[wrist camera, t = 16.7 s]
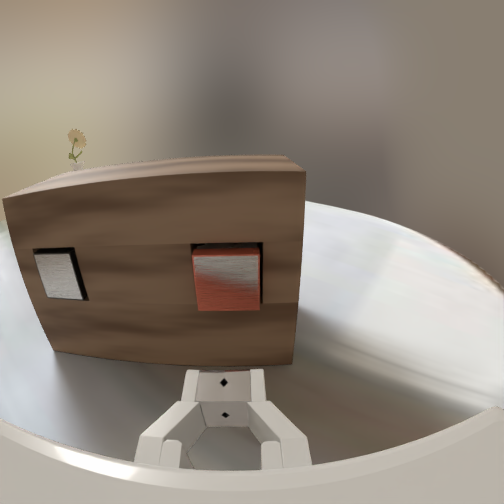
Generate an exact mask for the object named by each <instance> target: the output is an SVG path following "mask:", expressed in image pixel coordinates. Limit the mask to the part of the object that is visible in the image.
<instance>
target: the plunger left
mask: <svg viewBox="0 0 504 504" xmlns="http://www.w3.org/2000/svg"><path fill="white" fill-rule="evenodd" d="M33 256H34V259H35V263H36V266H37V269H38V272H39V275H40V278H41V281H42V284H43V287H44V290H45V293H46V296H47V298H55V299H69V300H84V299H85V298H86V297H87V292H86V289H85V285H84V282H83V278H82V275H81V271H80V268H79V264H78V260H77V256H76V252H75V248H74V247H60V248H42V249H38V250H37V251H36V252H35V253H33Z"/></svg>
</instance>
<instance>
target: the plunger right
mask: <svg viewBox="0 0 504 504" xmlns="http://www.w3.org/2000/svg"><path fill="white" fill-rule="evenodd" d="M192 263H193V272H194V280H195V288H196V296H197V304H198V311H241V310H260V253H259V248H257V242H236V243H198V246H197V249H194V251H193V253H192Z"/></svg>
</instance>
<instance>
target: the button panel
mask: <svg viewBox="0 0 504 504" xmlns="http://www.w3.org/2000/svg"><path fill="white" fill-rule="evenodd" d="M305 189H306V171H305V170H303V169H302V168H301V167H299V166H298V165H297V164H295V163H294V162H292V161H291V160H290V159H288V158H287V157H285V156H284V155H225V156H202V157H186V158H173V159H162V160H151V161H141V162H132V163H124V164H116V165H109V166H102V167H96V168H89V169H83V170H77V171H72V172H66V173H63V174H60V175H58V176H55V177H52V178H50V179H47V180H44V181H42V182H40V183H37V184H35V185H32V186H30V187H27V188H25V189H23V190H20V191H18V192H16V193H14V194H11V195H9V196H7V197H5V198H3V199H2V200H3V206H4V211H5V215H6V220H7V225H8V229H9V233H10V237H11V241H12V244H13V248H14V252H15V255H16V258H17V262H18V265H19V268H20V271H21V274H22V277H23V280H24V283H25V286H26V288H27V291H28V294H29V296H30V299H31V302H32V304H33V307H34V309H35V311H36V314H37V316H38V318H39V321H40V323H41V325H42V328H43V330H44V332H45V334H46V336H47V338H48V340H49V342H50V344H51V346H52V348H53V350H55V351H60V352H66V353H72V354H78V355H84V356H91V357H98V358H106V359H114V360H123V361H132V362H143V363H156V364H171V365H193V366H263V365H285V364H292V360H293V351H294V342H295V332H296V322H297V312H298V301H299V289H300V276H301V263H302V248H303V231H304V212H305ZM236 242H257V248H259V253H260V310H241V311H198V304H197V296H196V288H195V280H194V272H193V263H192V253H193V251H194V249H197V246H198V243H236ZM60 247H74V248H75V252H76V256H77V260H78V264H79V268H80V271H81V275H82V278H83V282H84V285H85V289H86V292H87V297H86V298H85V299H84V300H69V299H55V298H47V296H46V293H45V290H44V287H43V284H42V281H41V278H40V275H39V272H38V269H37V266H36V263H35V259H34V256H33V253H35V252H36V251H37V250H38V249H42V248H60Z"/></svg>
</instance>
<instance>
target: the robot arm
mask: <svg viewBox="0 0 504 504" xmlns="http://www.w3.org/2000/svg"><path fill="white" fill-rule="evenodd" d="M250 380H251V381H250ZM206 427H249V429H250V430H251V431H252V433H253V434H254V435H255V437H256V438H257V439H258V440H259V442H260V443H261V470H245V471H221V470H197V469H194V467H193V465H192V463H191V461H190V460H189V458H188V455H187V452H188V451H189V449H190V448H191V447H192V446H193V444H194V443H195V442H196V441H197V439H198V438H199V437H200V436H201V434H202V433H203V432H204V430H205V429H206ZM0 504H504V409H502V408H499V407H491V408H489V409H487V410H485V411H483V412H481V413H479V414H477V415H475V416H473V417H471V418H469V419H467V420H465V421H463V422H460V423H458V424H456V425H454V426H451V427H449V428H447V429H444V430H442V431H439V432H437V433H434V434H432V435H429V436H426V437H424V438H421V439H418V440H415V441H412V442H409V443H406V444H403V445H400V446H397V447H393V448H390V449H387V450H383V451H379V452H376V453H372V454H368V455H364V456H359V457H355V458H350V459H345V460H340V461H335V462H329V463H323V464H317V465H312V462H311V456H310V451H309V445H308V440H307V437H306V436H305V435H304V434H303V433H302V432H301V431H300V430H299V429H298V428H297V427H296V426H295V425H294V424H293V423H292V422H291V421H290V420H289V419H288V418H287V417H286V416H285V415H284V414H283V413H282V412H281V411H280V410H279V409H278V408H277V407H276V406H275V405H274V404H273V403H272V402H271V401H266V390H265V379H264V370H263V369H247V370H225V371H222V370H187V372H186V375H185V381H184V386H183V392H182V397H181V401H177V402H176V403H175V404H173V405H172V406H171V407H170V408H169V409H168V410H167V411H166V412H165V413H164V414H163V415H162V416H161V417H159V418H158V419H157V420H156V421H155V422H154V423H153V424H152V425H151V426H150V427H149V428H147V429H146V430H145V431H144V432H143V433H142V434H141V435H140V437H139V441H138V445H137V449H136V454H135V458H134V462H132V461H126V460H121V459H117V458H112V457H108V456H103V455H99V454H95V453H92V452H88V451H84V450H81V449H77V448H74V447H71V446H68V445H65V444H62V443H59V442H56V441H53V440H50V439H47V438H45V437H42V436H39V435H37V434H34V433H32V432H29V431H27V430H25V429H22V428H20V427H18V426H15V425H13V424H11V423H9V422H7V421H5V420H3V419H1V418H0Z"/></svg>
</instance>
